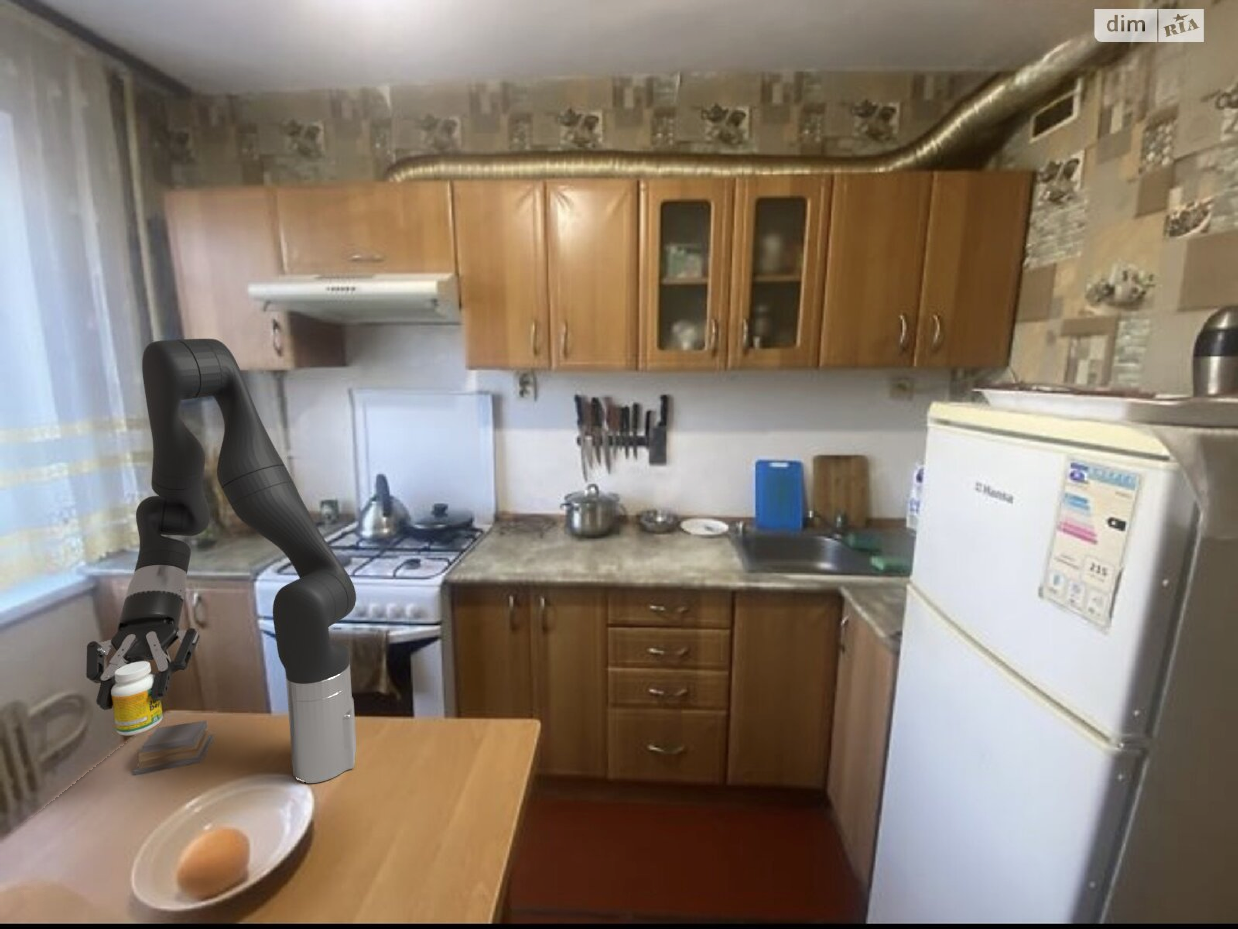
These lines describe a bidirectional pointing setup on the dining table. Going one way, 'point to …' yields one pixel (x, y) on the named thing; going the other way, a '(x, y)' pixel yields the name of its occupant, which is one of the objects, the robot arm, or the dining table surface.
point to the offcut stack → (174, 747)
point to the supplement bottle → (135, 699)
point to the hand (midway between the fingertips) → (131, 703)
